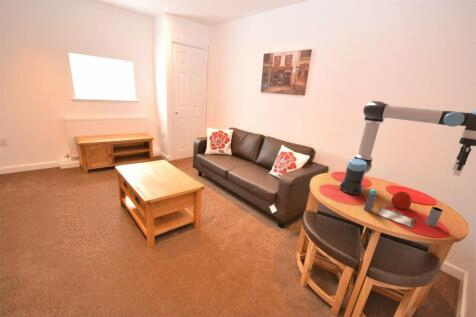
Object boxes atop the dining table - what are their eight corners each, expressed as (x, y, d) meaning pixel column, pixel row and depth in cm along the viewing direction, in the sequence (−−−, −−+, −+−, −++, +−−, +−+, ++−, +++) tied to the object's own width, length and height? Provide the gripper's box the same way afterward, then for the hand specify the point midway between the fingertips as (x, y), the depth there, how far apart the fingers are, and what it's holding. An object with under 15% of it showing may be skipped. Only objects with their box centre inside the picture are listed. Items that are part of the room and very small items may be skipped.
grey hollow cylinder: (423, 222, 121) (429, 206, 118) (430, 222, 121) (436, 206, 118) (430, 226, 117) (437, 211, 114) (438, 227, 117) (445, 211, 114)
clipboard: (375, 214, 125) (375, 212, 125) (379, 207, 134) (380, 205, 134) (412, 228, 113) (413, 227, 113) (414, 219, 123) (415, 218, 122)
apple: (399, 202, 143) (403, 188, 140) (413, 210, 133) (418, 196, 130) (386, 202, 141) (391, 188, 138) (399, 211, 131) (405, 196, 128)
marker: (363, 209, 130) (369, 190, 125) (365, 207, 132) (371, 188, 128) (370, 212, 127) (376, 192, 123) (371, 210, 130) (377, 190, 126)
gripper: (483, 142, 106) (466, 179, 113) (477, 137, 124) (462, 170, 130) (462, 138, 111) (447, 175, 118) (460, 134, 129) (446, 166, 135)
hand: (455, 172), depth 124 cm, fingers open, 13 cm apart
